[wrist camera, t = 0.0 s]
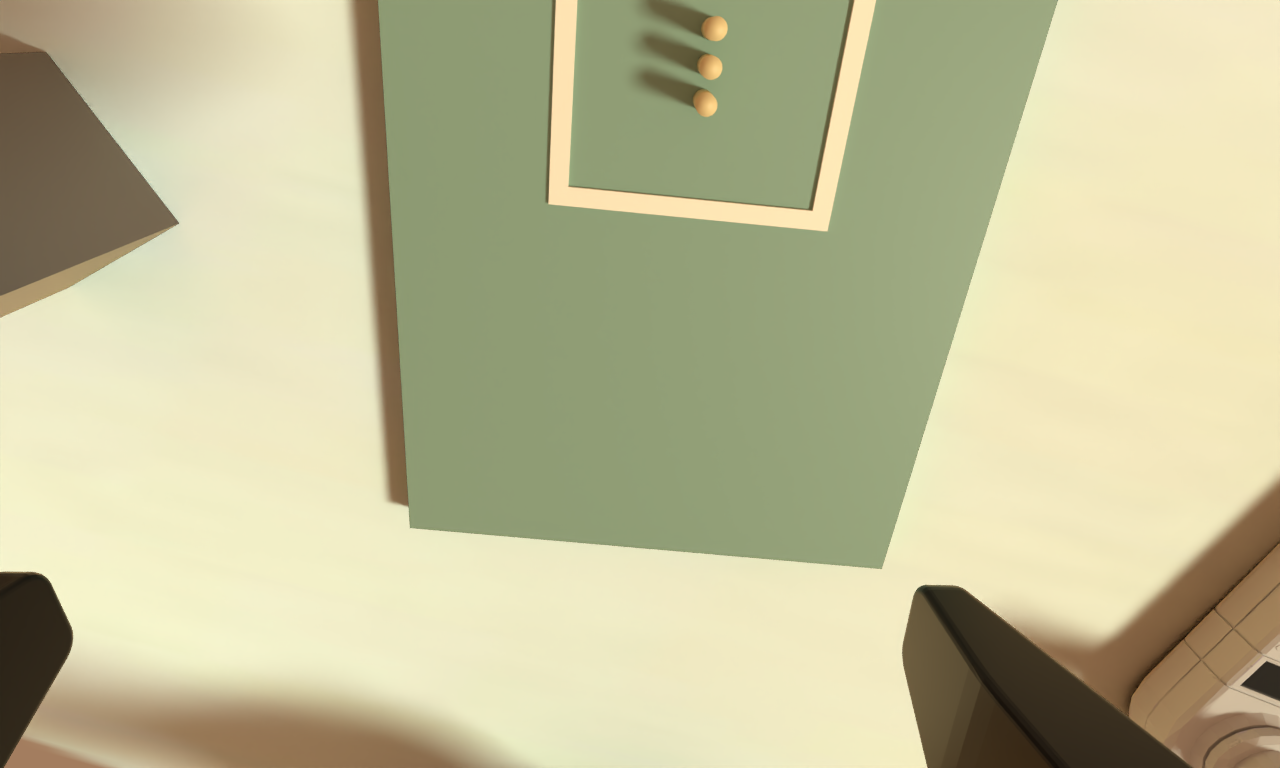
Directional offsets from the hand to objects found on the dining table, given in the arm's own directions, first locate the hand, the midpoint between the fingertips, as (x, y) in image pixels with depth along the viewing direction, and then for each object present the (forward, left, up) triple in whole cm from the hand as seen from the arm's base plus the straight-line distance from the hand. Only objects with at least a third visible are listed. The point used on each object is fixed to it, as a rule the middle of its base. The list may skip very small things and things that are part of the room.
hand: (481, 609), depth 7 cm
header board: (0, -3, -15) cm, 15 cm away
